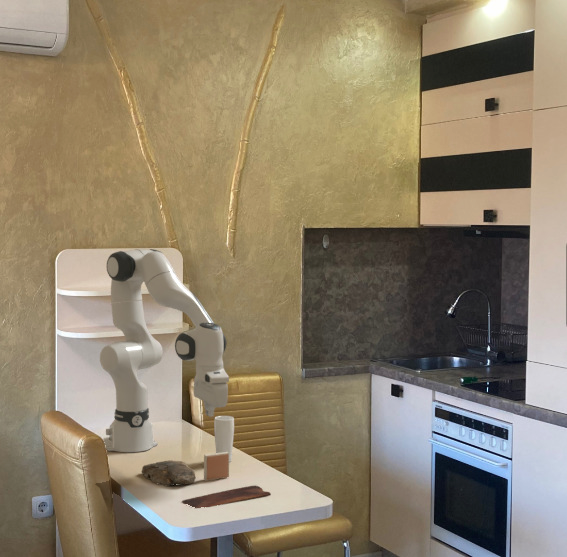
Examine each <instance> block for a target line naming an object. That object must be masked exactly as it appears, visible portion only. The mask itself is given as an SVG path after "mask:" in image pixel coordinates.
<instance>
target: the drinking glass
mask: <svg viewBox="0 0 567 557" xmlns="http://www.w3.org/2000/svg"><path fill="white" fill-rule="evenodd" d="M213 422H214V423H213V424H214V427H213V428H214V429H213V431H214V444H215V453H222V452H228V453H229V463H231V462H232V460H233V447H234V446H233V445H234V435H235V418H234V416H231V415H217V416H215V417H214V421H213Z"/></svg>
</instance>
